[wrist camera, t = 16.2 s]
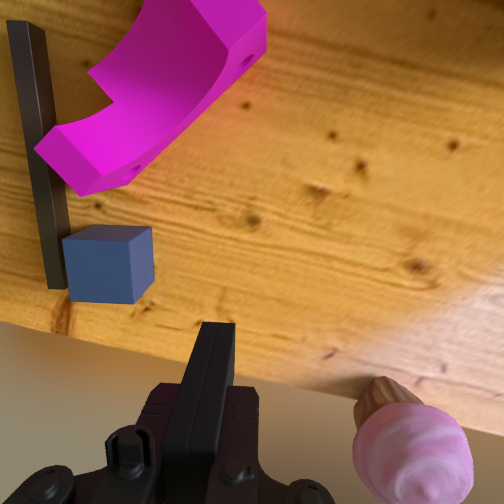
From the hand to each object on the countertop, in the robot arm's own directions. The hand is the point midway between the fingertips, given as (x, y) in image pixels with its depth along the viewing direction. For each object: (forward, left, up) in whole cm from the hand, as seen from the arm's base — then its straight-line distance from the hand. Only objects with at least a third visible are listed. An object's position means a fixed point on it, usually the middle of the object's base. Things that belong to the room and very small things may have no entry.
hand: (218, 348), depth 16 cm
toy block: (-13, -6, -15) cm, 21 cm away
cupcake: (+14, +14, -15) cm, 25 cm away
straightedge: (-7, -16, -15) cm, 23 cm away
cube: (0, -10, -15) cm, 18 cm away
